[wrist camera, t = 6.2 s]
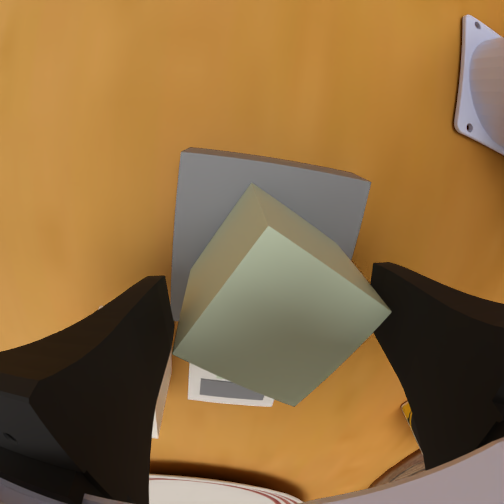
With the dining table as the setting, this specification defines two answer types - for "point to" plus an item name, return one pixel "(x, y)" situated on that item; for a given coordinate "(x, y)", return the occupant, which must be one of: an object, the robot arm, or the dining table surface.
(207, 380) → the card
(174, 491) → the dinner plate
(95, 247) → the dining table surface
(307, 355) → the sage block
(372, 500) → the robot arm
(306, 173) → the base slab
